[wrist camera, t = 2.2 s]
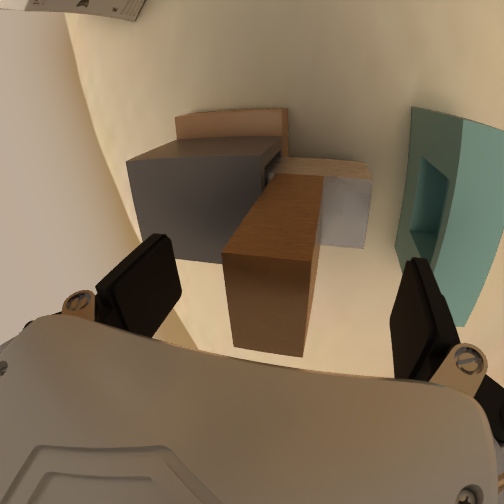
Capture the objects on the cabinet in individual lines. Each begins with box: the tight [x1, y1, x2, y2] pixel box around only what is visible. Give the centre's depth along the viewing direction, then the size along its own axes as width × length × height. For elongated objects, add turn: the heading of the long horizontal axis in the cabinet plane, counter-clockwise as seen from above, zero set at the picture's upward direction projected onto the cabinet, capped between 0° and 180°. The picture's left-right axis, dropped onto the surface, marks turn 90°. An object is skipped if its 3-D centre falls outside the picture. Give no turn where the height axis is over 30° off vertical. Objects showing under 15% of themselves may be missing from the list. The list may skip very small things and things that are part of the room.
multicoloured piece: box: [221, 157, 372, 357], centre depth 15 cm, size 4×14×12 cm, turn 93°
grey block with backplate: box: [126, 109, 289, 264], centre depth 20 cm, size 10×8×9 cm
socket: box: [395, 107, 504, 327], centre depth 16 cm, size 12×4×10 cm, turn 3°
